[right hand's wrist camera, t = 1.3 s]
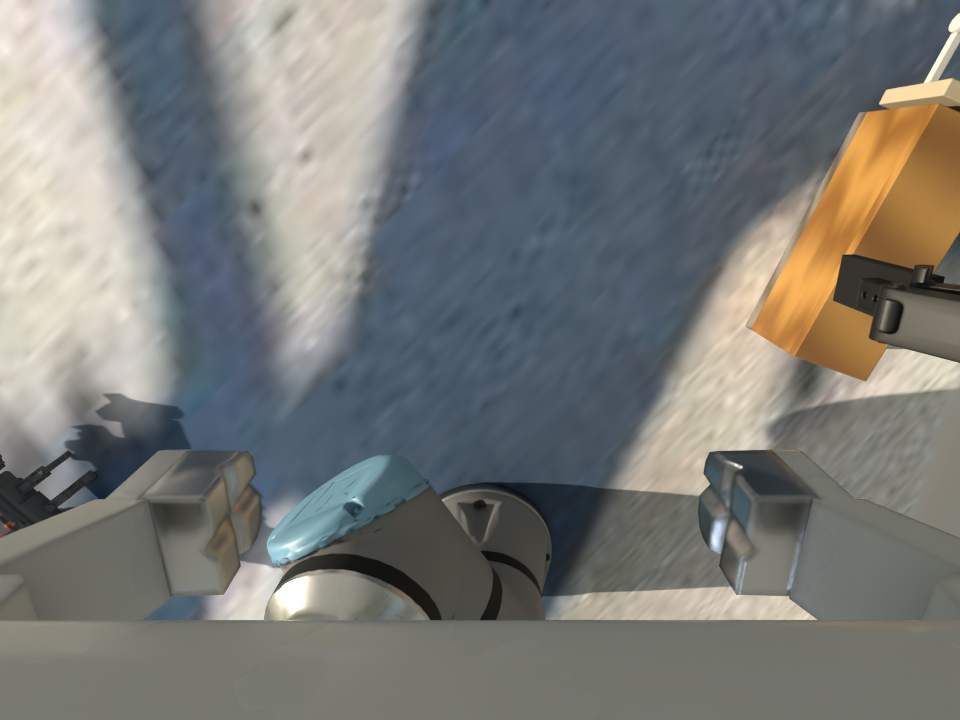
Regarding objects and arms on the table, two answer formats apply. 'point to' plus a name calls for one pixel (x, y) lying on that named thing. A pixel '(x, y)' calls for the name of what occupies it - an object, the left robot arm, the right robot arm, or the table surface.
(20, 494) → the toy
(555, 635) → the right robot arm
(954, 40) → the drawer
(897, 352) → the table surface
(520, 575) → the left robot arm
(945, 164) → the cabinet
